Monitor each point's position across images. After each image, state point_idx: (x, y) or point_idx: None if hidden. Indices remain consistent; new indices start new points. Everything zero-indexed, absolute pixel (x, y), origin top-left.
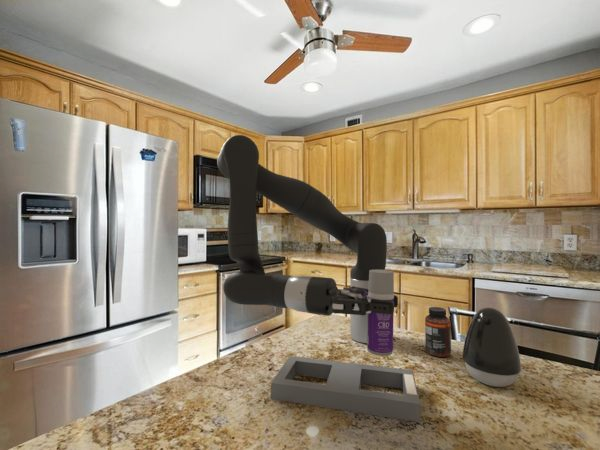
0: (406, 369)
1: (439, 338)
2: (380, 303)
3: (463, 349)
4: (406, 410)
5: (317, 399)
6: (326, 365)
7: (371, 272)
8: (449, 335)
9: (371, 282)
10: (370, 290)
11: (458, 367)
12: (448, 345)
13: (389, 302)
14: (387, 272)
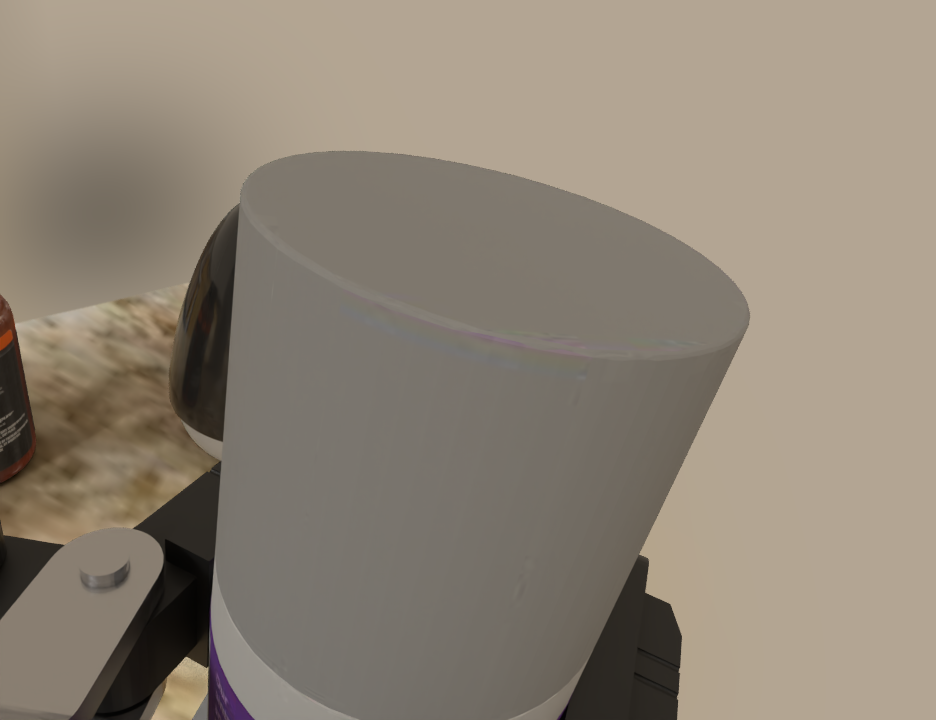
0: (194, 716)
1: (2, 404)
2: (649, 692)
3: (206, 402)
4: None
5: None
6: None
7: (664, 377)
8: (21, 361)
9: (584, 571)
10: (511, 694)
11: (137, 465)
12: (29, 405)
13: (641, 582)
14: (639, 232)
